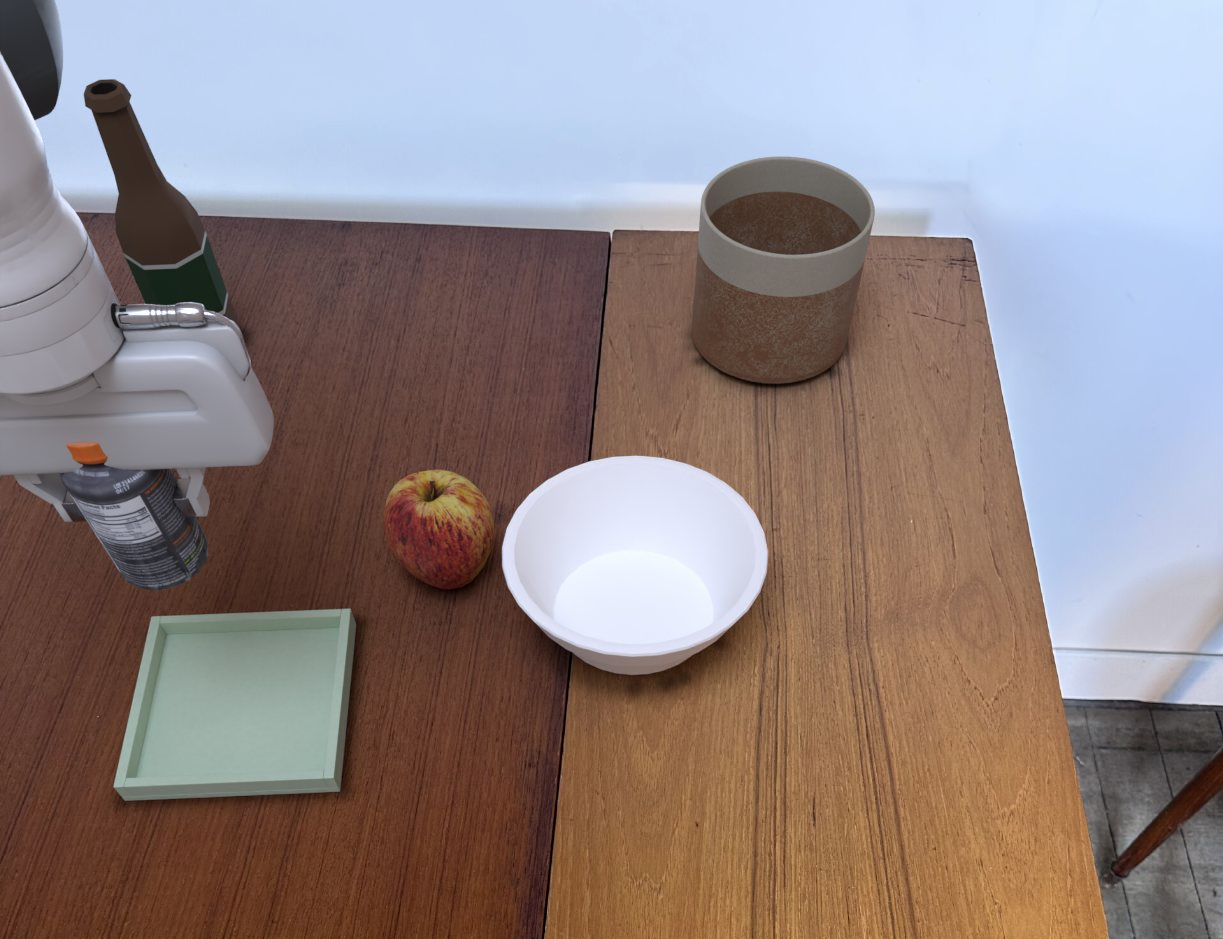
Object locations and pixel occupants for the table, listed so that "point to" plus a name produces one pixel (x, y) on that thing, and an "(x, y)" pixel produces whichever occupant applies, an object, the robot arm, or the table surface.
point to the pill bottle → (136, 519)
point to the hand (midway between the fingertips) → (138, 512)
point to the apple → (439, 527)
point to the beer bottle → (154, 213)
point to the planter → (779, 267)
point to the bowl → (634, 561)
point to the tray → (239, 706)
